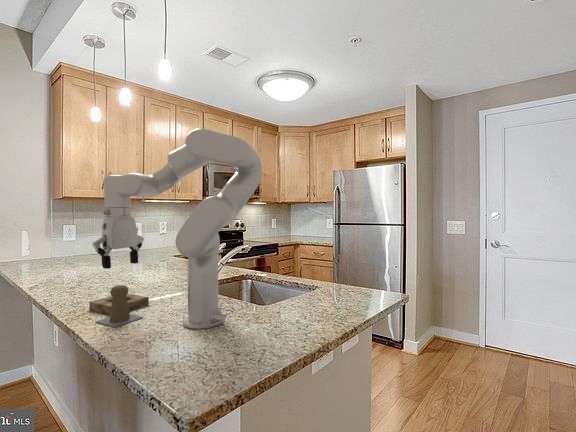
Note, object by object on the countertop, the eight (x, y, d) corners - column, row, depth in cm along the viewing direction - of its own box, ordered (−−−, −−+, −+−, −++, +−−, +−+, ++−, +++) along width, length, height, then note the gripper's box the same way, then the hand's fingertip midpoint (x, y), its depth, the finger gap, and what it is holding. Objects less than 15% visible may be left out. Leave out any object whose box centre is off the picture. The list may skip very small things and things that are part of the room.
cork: (111, 317, 107) (111, 284, 107) (131, 315, 109) (131, 283, 109) (107, 323, 101) (106, 288, 101) (128, 321, 103) (127, 287, 103)
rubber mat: (143, 318, 107) (143, 316, 107) (115, 327, 99) (115, 326, 99) (123, 313, 112) (123, 312, 112) (95, 322, 103) (95, 321, 103)
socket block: (148, 305, 122) (148, 297, 122) (113, 315, 110) (113, 307, 110) (124, 300, 129) (124, 293, 129) (89, 310, 116) (89, 302, 116)
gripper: (99, 213, 95) (102, 271, 96) (148, 212, 111) (151, 261, 111) (84, 214, 99) (87, 270, 99) (134, 213, 114) (136, 261, 114)
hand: (121, 265), depth 105 cm, fingers open, 9 cm apart
